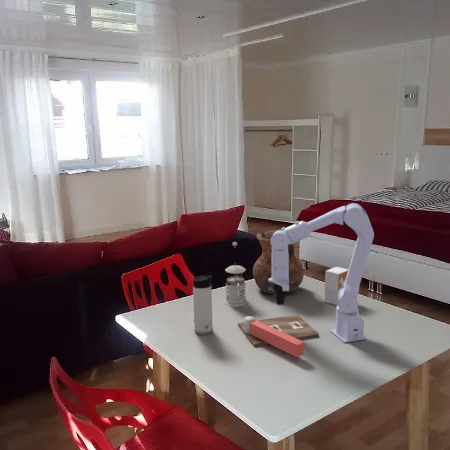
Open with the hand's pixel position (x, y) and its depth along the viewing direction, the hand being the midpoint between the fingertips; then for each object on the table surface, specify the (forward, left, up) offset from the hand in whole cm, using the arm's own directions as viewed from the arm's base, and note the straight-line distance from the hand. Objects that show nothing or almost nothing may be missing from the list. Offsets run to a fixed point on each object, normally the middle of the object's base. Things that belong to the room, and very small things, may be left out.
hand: (280, 303), depth 158 cm
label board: (-1, +2, -9) cm, 9 cm away
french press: (+30, +7, -10) cm, 32 cm away
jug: (+37, -14, -10) cm, 41 cm away
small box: (+17, -31, -10) cm, 37 cm away
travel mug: (+7, +26, -10) cm, 28 cm away
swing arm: (-11, +7, -8) cm, 15 cm away
